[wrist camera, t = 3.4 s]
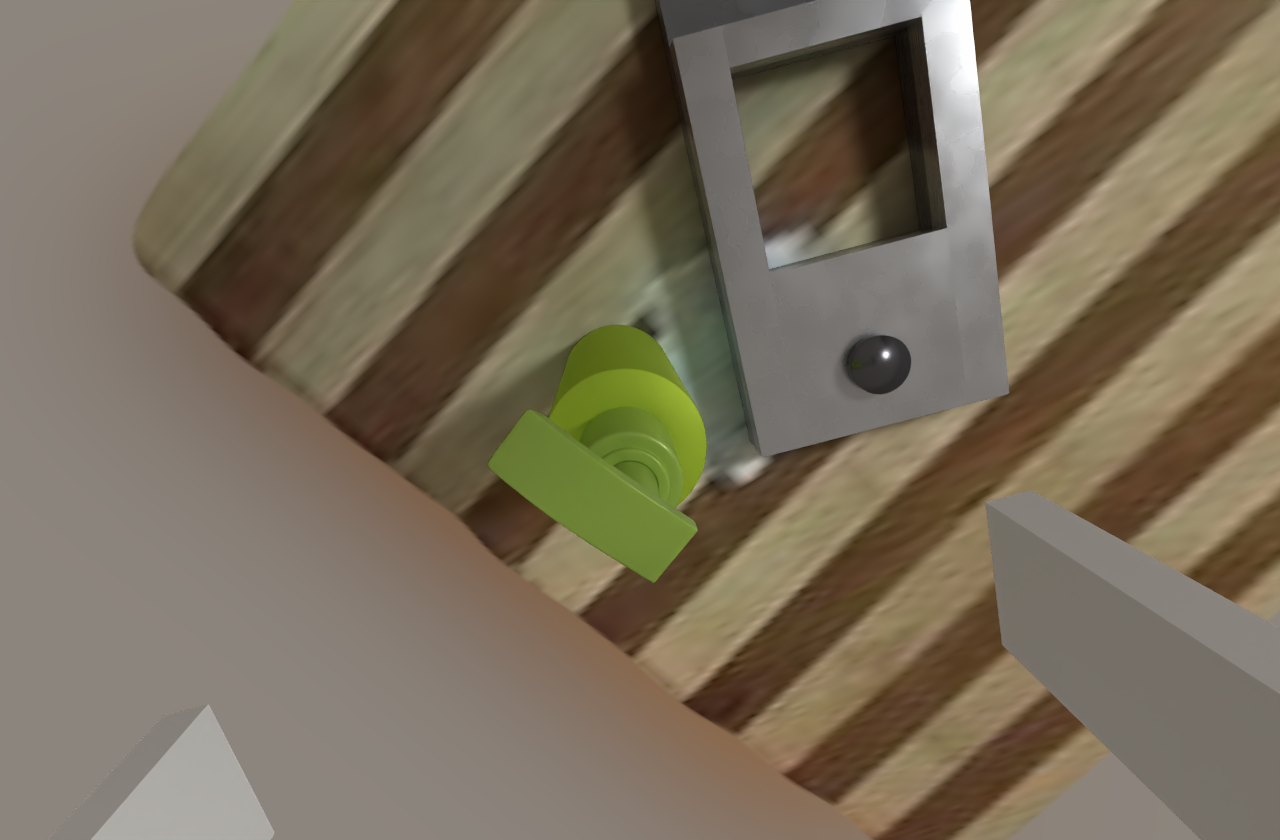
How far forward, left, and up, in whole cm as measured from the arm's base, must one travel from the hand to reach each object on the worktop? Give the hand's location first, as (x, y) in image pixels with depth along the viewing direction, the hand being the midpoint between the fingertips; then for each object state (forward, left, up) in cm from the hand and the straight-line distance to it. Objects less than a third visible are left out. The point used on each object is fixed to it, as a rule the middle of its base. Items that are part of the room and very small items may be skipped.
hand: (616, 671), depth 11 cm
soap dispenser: (0, 0, -26) cm, 26 cm away
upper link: (-4, +14, -26) cm, 29 cm away
